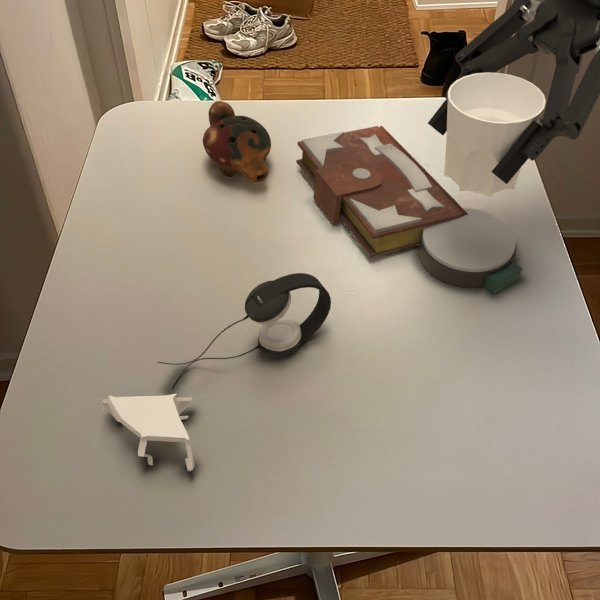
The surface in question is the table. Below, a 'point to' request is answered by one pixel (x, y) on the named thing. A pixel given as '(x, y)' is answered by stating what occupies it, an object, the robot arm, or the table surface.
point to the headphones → (280, 315)
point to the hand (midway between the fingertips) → (465, 152)
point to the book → (375, 188)
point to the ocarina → (236, 143)
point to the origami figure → (152, 420)
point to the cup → (487, 127)
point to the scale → (471, 251)
